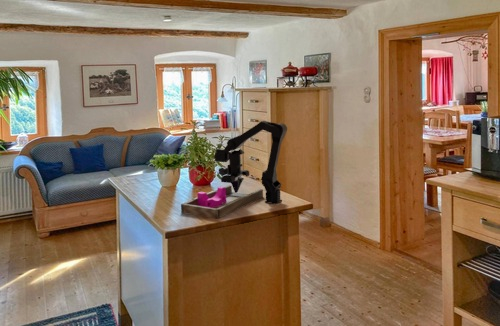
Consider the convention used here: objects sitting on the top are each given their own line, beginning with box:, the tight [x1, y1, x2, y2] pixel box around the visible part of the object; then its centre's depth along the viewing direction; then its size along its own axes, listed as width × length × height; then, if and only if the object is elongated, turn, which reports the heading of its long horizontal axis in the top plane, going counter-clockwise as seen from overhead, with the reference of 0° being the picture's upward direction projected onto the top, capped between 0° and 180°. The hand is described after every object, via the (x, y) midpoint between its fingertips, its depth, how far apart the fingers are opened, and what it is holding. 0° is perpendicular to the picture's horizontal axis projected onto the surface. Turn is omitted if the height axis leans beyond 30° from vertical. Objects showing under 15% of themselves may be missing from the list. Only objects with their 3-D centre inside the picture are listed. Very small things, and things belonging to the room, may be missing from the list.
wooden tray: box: [180, 184, 264, 220], centre depth 223 cm, size 21×40×4 cm, turn 149°
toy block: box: [196, 186, 227, 208], centre depth 222 cm, size 15×6×8 cm, turn 134°
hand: (236, 192), depth 232 cm, fingers closed
